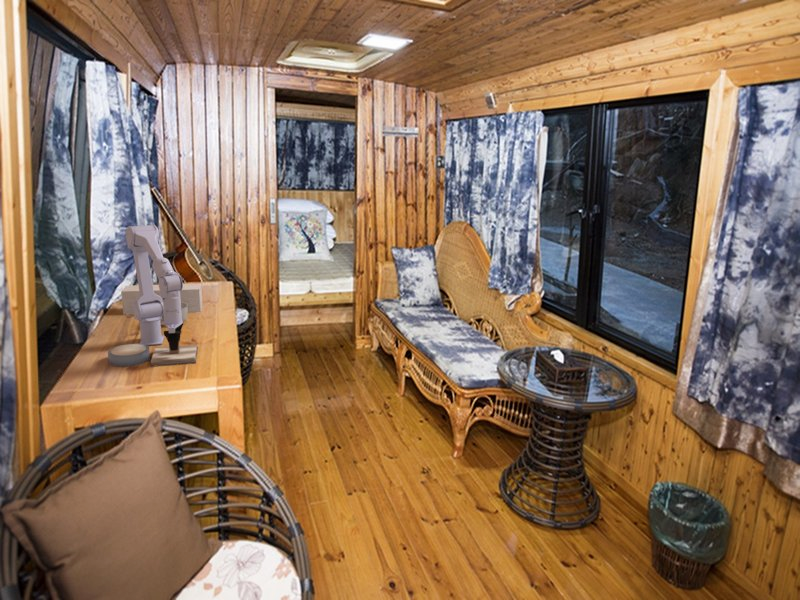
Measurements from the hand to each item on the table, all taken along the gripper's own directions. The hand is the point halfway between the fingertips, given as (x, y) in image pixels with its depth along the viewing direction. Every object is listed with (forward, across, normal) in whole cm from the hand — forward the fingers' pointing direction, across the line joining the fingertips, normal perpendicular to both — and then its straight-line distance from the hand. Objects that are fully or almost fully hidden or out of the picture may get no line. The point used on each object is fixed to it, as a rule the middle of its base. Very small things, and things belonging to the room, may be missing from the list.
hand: (175, 346), depth 201 cm
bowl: (+4, 0, -15) cm, 15 cm away
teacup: (+4, -41, -5) cm, 42 cm away
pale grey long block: (+4, -63, -10) cm, 64 cm away
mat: (+4, 0, 0) cm, 4 cm away
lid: (+3, 0, 0) cm, 3 cm away
